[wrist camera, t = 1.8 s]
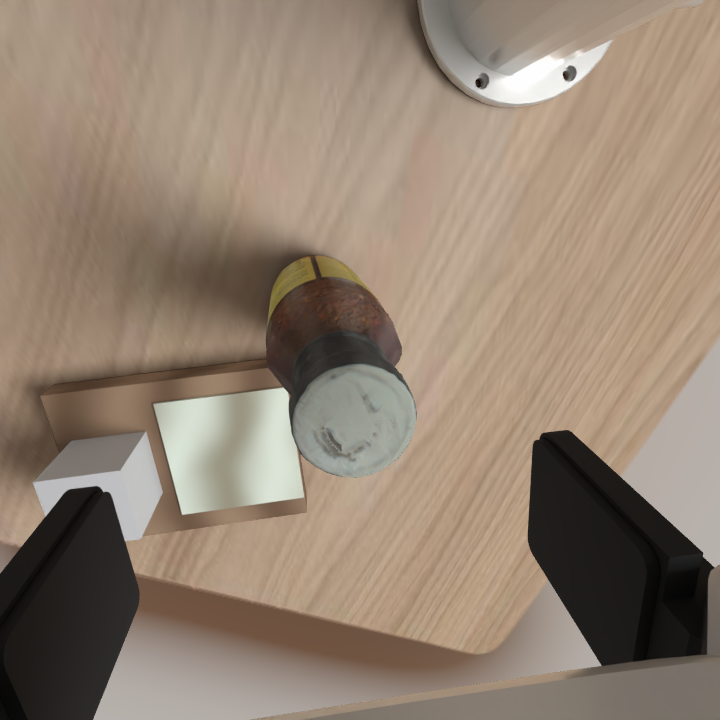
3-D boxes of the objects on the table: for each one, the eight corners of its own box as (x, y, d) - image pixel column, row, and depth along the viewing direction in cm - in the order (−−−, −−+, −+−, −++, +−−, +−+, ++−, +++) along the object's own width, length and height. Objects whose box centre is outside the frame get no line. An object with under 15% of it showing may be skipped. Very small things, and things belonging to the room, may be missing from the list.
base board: (285, 356, 35) (283, 366, 33) (306, 496, 39) (306, 514, 37) (54, 384, 34) (38, 397, 32) (101, 526, 38) (90, 545, 36)
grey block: (146, 431, 33) (120, 470, 29) (162, 492, 35) (140, 538, 30) (71, 440, 33) (32, 482, 28) (91, 502, 35) (58, 550, 30)
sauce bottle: (278, 344, 34) (247, 526, 16) (266, 255, 32) (214, 344, 14) (369, 335, 35) (444, 500, 16) (363, 247, 33) (441, 322, 14)
